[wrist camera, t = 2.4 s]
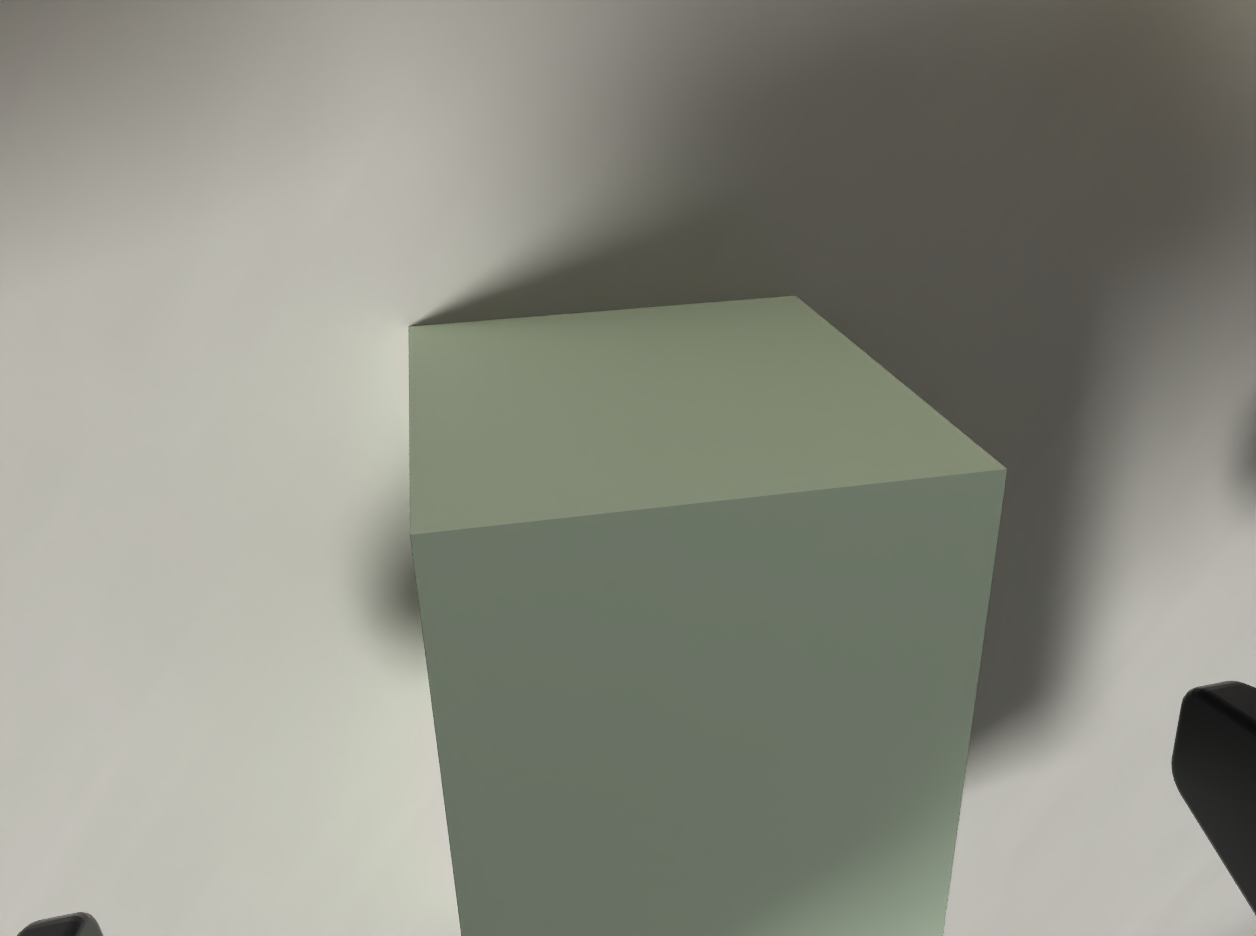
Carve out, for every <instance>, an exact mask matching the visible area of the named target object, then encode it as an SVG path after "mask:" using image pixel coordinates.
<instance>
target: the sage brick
mask: <svg viewBox="0 0 1256 936" xmlns="http://www.w3.org/2000/svg"><path fill="white" fill-rule="evenodd" d="M409 456H410V538H411V546H412V554H413V562H414V570H415V577H416V585H417V593H418V601H419V609H420V616H421V624H422V632H423V640H424V648H425V655H426V663H427V671H428V679H429V687H430V694H431V702H432V710H433V718H434V726H435V733H436V741H437V749H438V757H439V764H440V772H441V780H442V788H443V796H444V803H445V811H446V819H447V827H448V835H449V842H450V850H451V858H452V866H453V874H454V881H455V889H456V897H457V905H458V913H459V920H460V928H461V936H943V931H944V924H945V916H946V909H947V902H948V895H949V887H950V880H951V873H952V866H953V858H954V851H955V844H956V837H957V830H958V822H959V815H960V808H961V801H962V793H963V786H964V779H965V772H966V764H967V757H968V750H969V743H970V735H971V728H972V721H973V714H974V706H975V699H976V692H977V685H978V677H979V670H980V663H981V656H982V648H983V641H984V634H985V627H986V619H987V612H988V605H989V598H990V590H991V583H992V576H993V569H994V562H995V554H996V547H997V540H998V533H999V525H1000V518H1001V511H1002V504H1003V496H1004V489H1005V482H1006V475H1007V468H1005V467H1004V466H1003V465H1002V464H1001V463H999V462H998V461H997V460H996V459H994V458H993V457H992V456H991V455H990V454H988V453H987V452H986V451H985V450H983V449H982V448H981V447H980V446H979V445H977V444H976V443H975V442H974V441H972V440H971V439H970V438H969V437H968V436H966V435H965V434H964V433H963V432H962V431H960V430H959V429H958V428H957V427H955V426H954V425H953V424H952V423H951V422H949V421H948V420H947V419H946V418H944V417H943V416H942V415H941V414H940V413H938V412H937V411H936V410H935V409H933V408H932V407H931V406H930V405H929V404H927V403H926V402H925V401H924V400H922V399H921V398H920V397H919V396H918V395H916V394H915V393H914V392H913V391H912V390H910V389H909V388H908V387H907V386H905V385H904V384H903V383H902V382H901V381H899V380H898V379H897V378H896V377H894V376H893V375H892V374H891V373H890V372H888V371H887V370H886V369H885V368H883V367H882V366H881V365H880V364H879V363H877V362H876V361H875V360H874V359H872V358H871V357H870V356H869V355H868V354H866V353H865V352H864V351H863V350H862V349H860V348H859V347H858V346H857V345H855V344H854V343H853V342H852V341H851V340H849V339H848V338H847V337H846V336H844V335H843V334H842V333H841V332H840V331H838V330H837V329H836V328H835V327H833V326H832V325H831V324H830V323H829V322H827V321H826V320H825V319H824V318H822V317H821V316H820V315H819V314H818V313H816V312H815V311H814V310H813V309H812V308H810V307H809V306H808V305H807V304H805V303H804V302H803V301H802V300H801V299H799V298H798V297H797V296H784V297H771V298H759V299H746V300H734V301H721V302H709V303H696V304H684V305H671V306H659V307H646V308H634V309H621V310H609V311H596V312H584V313H571V314H559V315H546V316H534V317H521V318H509V319H496V320H484V321H472V322H459V323H447V324H434V325H422V326H409Z"/></svg>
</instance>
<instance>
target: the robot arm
mask: <svg viewBox="0 0 1256 936" xmlns="http://www.w3.org/2000/svg"><path fill="white" fill-rule="evenodd" d="M1171 764H1172V773H1173V777H1174V781H1175V783H1176V786H1177V788H1178V790H1179V792H1180V794H1181V796H1182V797H1183V799H1184V801H1185V802H1186V804H1187V805H1188V807H1189V809H1190V810H1191V812H1192V813H1193V815H1194V817H1195V818H1196V820H1197V821H1198V823H1199V825H1200V826H1201V828H1202V830H1203V831H1204V833H1205V834H1206V836H1207V838H1208V839H1209V841H1210V842H1211V844H1212V846H1213V847H1214V849H1215V850H1216V852H1217V854H1218V855H1219V857H1220V858H1221V860H1222V862H1223V863H1224V865H1225V867H1226V868H1227V870H1228V871H1229V873H1230V875H1231V876H1232V878H1233V879H1234V881H1235V883H1236V884H1237V886H1238V887H1239V889H1240V891H1241V892H1242V894H1243V895H1244V897H1245V899H1246V900H1247V902H1248V904H1249V905H1250V907H1251V908H1252V910H1253V912H1254V913H1255V915H1256V688H1255V687H1252V686H1250V685H1247V684H1244V683H1241V682H1237V681H1225V682H1220V683H1215V684H1210V685H1205V686H1200V687H1196V688H1193V689H1191V690H1189V691H1188V692H1187V694H1186V695H1185V696H1184V698H1183V700H1182V704H1181V709H1180V715H1179V721H1178V726H1177V732H1176V738H1175V743H1174V749H1173V755H1172V763H1171ZM17 936H103V934H102V932H101V929H100V927H99V925H98V923H97V921H96V920H95V918H94V917H93V916H92V915H90V914H88V913H84V912H77V913H72V914H67V915H63V916H58V917H53V918H48V919H43V920H38V921H36V922H33V923H31V924H29V925H28V926H27V927H25V928H24V929H23V930H22V931H21V932H20V933H19V934H18V935H17Z"/></svg>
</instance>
